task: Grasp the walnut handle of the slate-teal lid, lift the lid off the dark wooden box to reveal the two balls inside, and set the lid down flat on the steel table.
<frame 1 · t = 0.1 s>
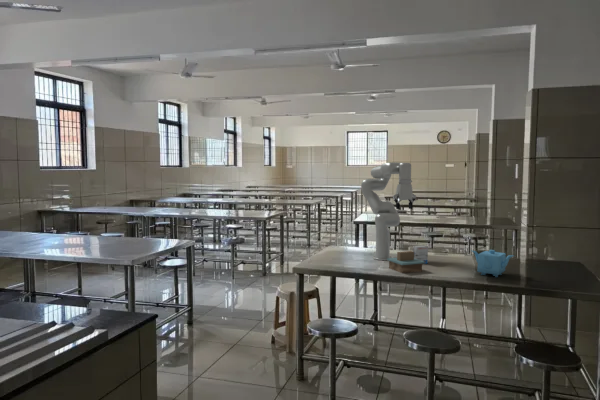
hand: (404, 209, 294), 37 cm above the table, tool pointing down, fingers open, 9 cm apart
box: (405, 271, 281), on the table
ink box: (420, 263, 305), on the table
lid: (405, 261, 281), point 6 cm above the table, touching box
teakettle: (490, 275, 274), on the table
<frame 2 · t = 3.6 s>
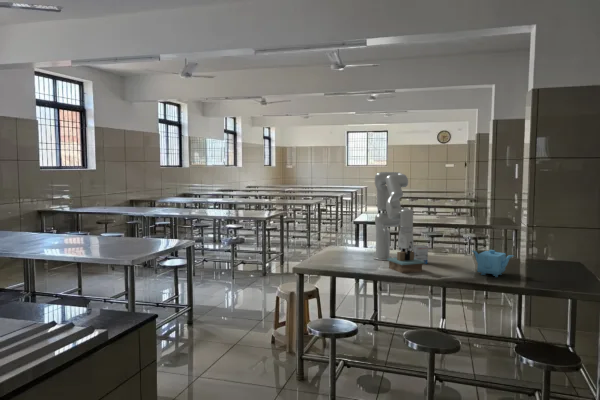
hand: (405, 259, 281), 7 cm above the table, tool pointing down, fingers closed on lid, 3 cm apart
lid: (405, 261, 281), point 6 cm above the table, touching box, gripper
everything else where it was.
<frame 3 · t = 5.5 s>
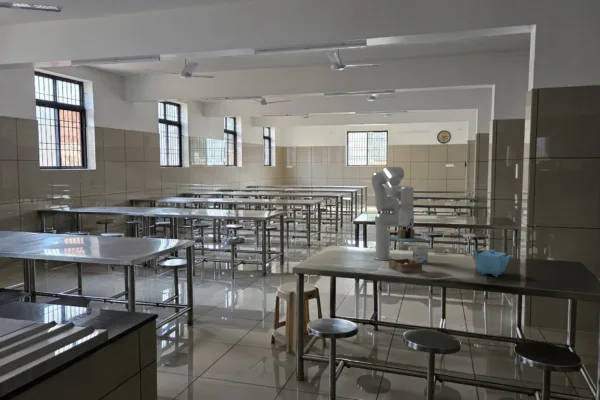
hand: (406, 237, 280), 21 cm above the table, tool pointing down, fingers closed on lid, 3 cm apart
lid: (405, 239, 280), point 20 cm above the table, touching gripper
everything else where it was.
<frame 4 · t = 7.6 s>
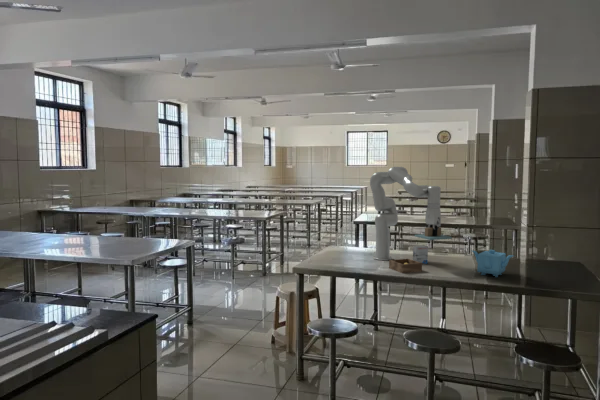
hand: (432, 235, 287), 21 cm above the table, tool pointing down, fingers closed on lid, 3 cm apart
lid: (432, 237, 287), point 20 cm above the table, touching gripper
everything else where it was.
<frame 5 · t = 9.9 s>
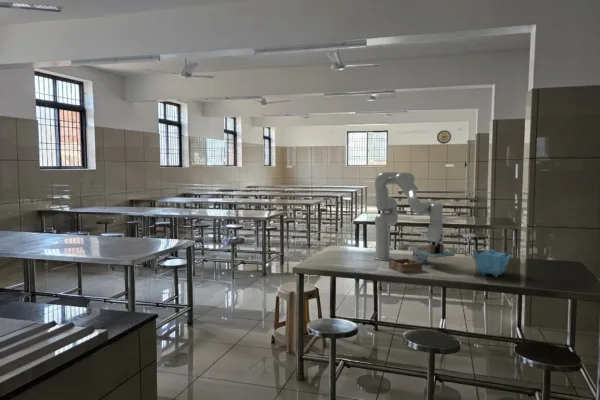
hand: (435, 252, 288), 10 cm above the table, tool pointing down, fingers closed on lid, 3 cm apart
lid: (435, 254, 289), point 9 cm above the table, touching gripper
everything else where it was.
when the fingers open (4 cm above the table, at t = 11.9 s): lid drops 3 cm, on the table.
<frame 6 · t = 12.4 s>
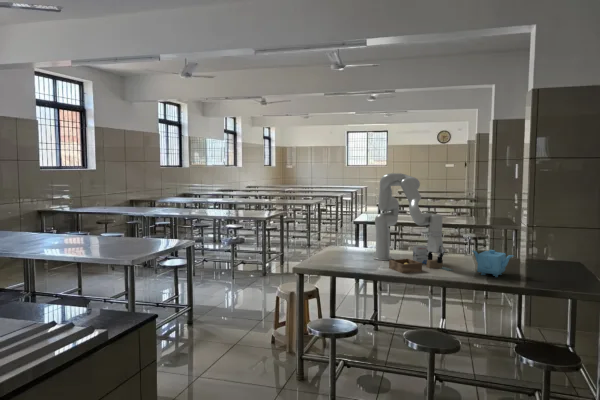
hand: (434, 261, 289), 5 cm above the table, tool pointing down, fingers open, 8 cm apart
lid: (434, 269, 290), on the table
everything else where it was.
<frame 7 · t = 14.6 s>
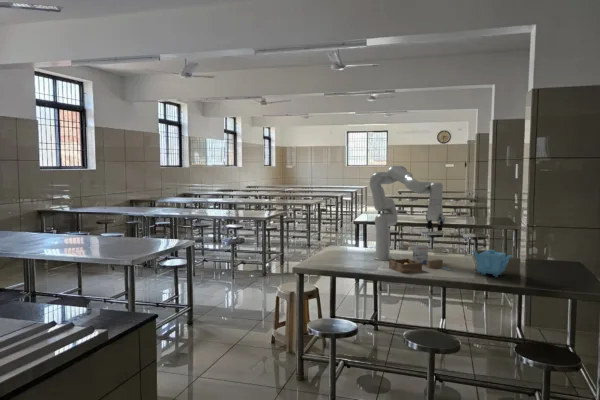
hand: (434, 229, 288), 25 cm above the table, tool pointing down, fingers open, 9 cm apart
nothing on the table moved.
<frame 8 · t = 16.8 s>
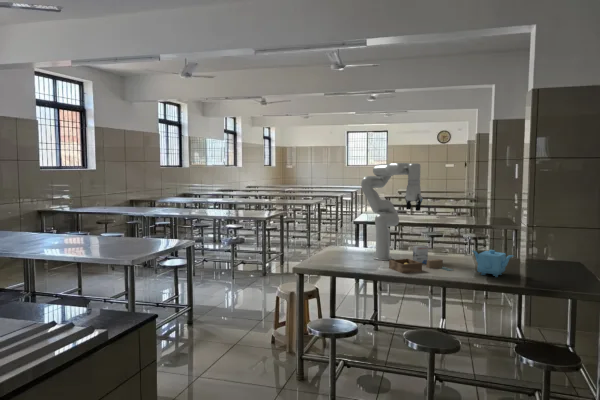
hand: (413, 210, 292), 36 cm above the table, tool pointing down, fingers open, 9 cm apart
nothing on the table moved.
at the end: lid inside the target area (0.1 cm from its centre), on the table; lid tilted 0°; the gripper is holding nothing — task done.
